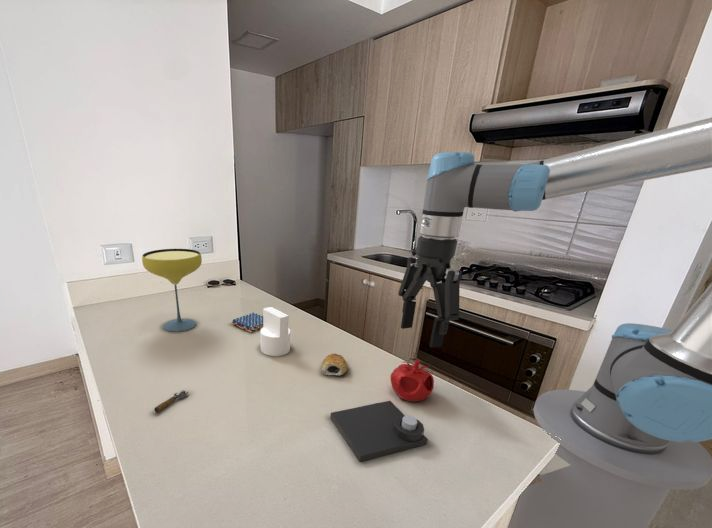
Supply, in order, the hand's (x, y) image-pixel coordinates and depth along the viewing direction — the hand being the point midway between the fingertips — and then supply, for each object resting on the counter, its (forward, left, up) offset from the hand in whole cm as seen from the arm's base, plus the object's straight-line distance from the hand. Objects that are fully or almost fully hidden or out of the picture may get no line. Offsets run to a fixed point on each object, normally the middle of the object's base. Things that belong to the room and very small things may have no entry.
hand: (420, 336), depth 77 cm
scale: (+15, +9, -16) cm, 23 cm away
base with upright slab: (+25, -32, -16) cm, 44 cm away
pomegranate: (0, 0, -16) cm, 16 cm away
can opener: (+55, -13, -16) cm, 59 cm away
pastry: (+13, -16, -16) cm, 26 cm away
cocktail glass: (+52, -58, -16) cm, 79 cm away
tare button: (+10, +13, -13) cm, 21 cm away
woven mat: (+28, -52, -16) cm, 61 cm away
